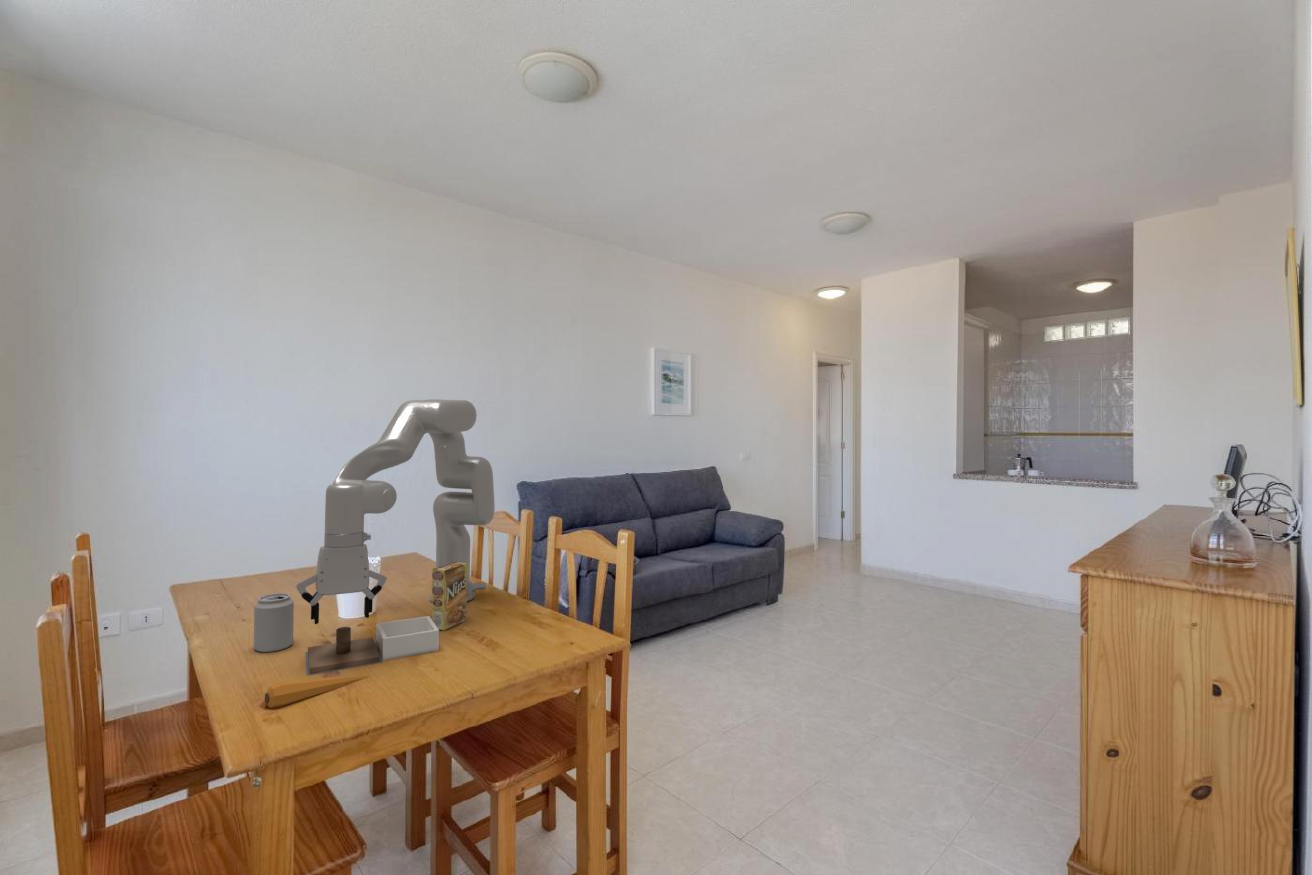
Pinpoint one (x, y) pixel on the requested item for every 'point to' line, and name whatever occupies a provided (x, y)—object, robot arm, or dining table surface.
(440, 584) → the candy box
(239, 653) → the dining table surface
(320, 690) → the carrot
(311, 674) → the mat
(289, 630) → the can
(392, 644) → the grey storage bin
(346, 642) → the lid
